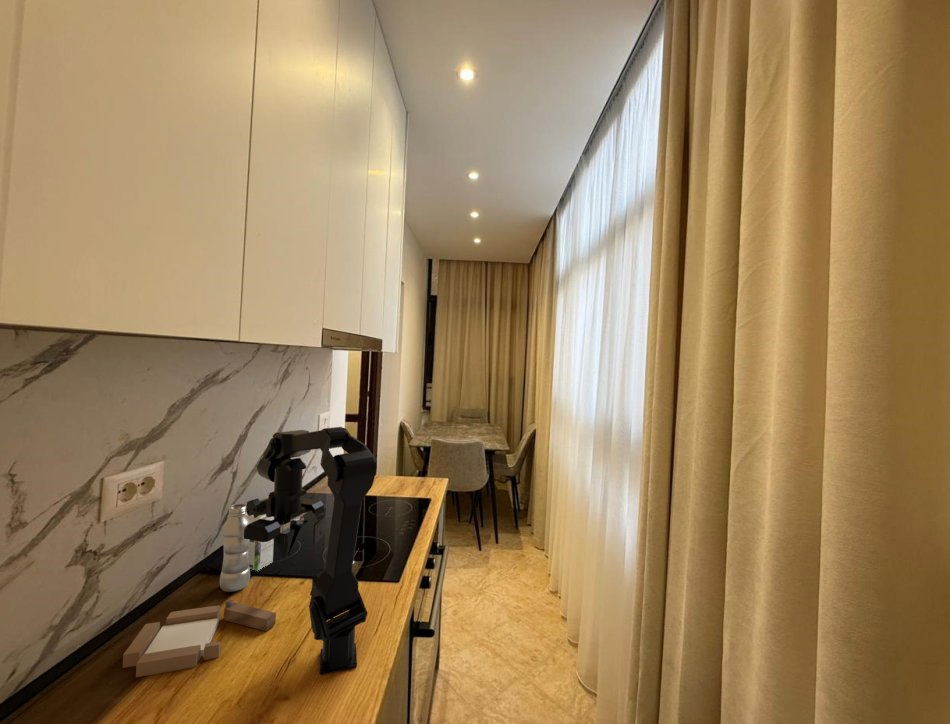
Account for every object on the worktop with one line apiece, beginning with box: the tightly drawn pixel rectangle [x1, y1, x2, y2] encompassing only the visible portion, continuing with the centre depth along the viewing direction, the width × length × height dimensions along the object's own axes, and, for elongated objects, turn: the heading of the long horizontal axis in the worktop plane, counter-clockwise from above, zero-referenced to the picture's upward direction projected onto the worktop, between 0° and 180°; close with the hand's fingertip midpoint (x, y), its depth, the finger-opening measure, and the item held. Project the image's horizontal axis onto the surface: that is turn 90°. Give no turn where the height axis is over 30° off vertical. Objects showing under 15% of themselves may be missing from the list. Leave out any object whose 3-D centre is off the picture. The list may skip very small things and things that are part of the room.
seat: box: [122, 604, 221, 678], centre depth 79 cm, size 15×15×2 cm
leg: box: [223, 599, 277, 632], centre depth 86 cm, size 12×2×3 cm, turn 74°
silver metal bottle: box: [219, 503, 251, 593], centre depth 99 cm, size 6×7×20 cm
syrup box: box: [245, 513, 275, 572], centre depth 110 cm, size 6×6×14 cm
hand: (285, 556), depth 91 cm, fingers closed
